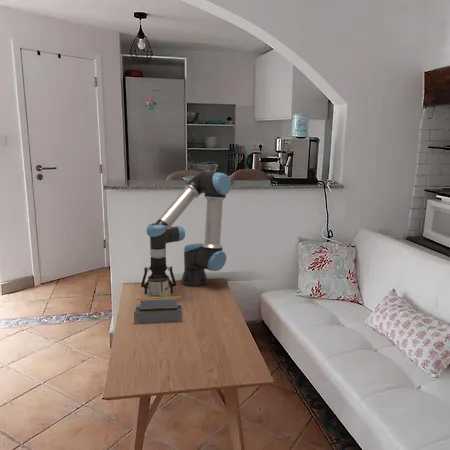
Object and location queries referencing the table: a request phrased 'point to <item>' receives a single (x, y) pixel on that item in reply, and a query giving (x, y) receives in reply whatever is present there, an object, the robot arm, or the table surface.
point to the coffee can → (158, 286)
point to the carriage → (158, 302)
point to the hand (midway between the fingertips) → (159, 299)
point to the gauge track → (158, 316)
